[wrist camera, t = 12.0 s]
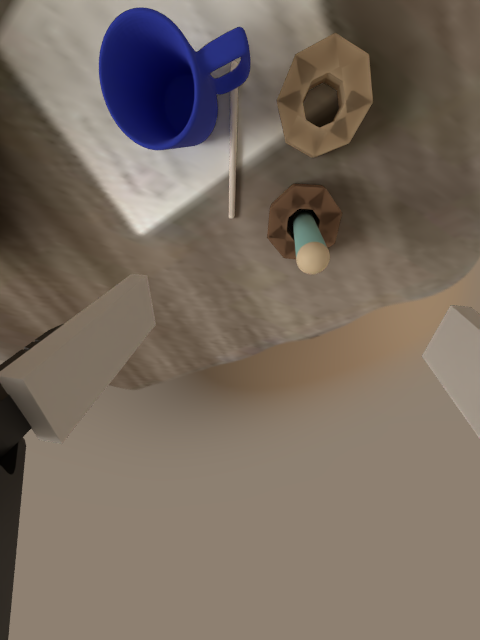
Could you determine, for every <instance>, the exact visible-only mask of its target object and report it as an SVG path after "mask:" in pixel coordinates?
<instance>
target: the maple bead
mask: <svg viewBox="0 0 480 640" xmlns="http://www.w3.org/2000/svg"><path fill="white" fill-rule="evenodd" d="M322 83H325V84H327V85H328V86H330V87H332V88H333V89H335V90H337V97H338V104H339V110H338V112H337V113H336V115H335V117H334V119H333V121H332V122H331V123H329V124H327V125H325V126H322V127H320V128H319V127H317V126H315V125H314V124H312V123H310V122H309V121H307V120H306V118H305V112H304V107H303V102H304V100H305V97H306V95H307V93H308V91H309V90H310V89H312V88H314V87H316V86H318V85H320V84H322ZM372 103H373V98H372V85H371V73H370V61H369V54H368V53H366V52H364V51H363V50H361V49H360V48H358V47H357V46H355V45H354V44H352V43H350V42H349V41H347V40H346V39H344V38H343V37H341V36H339V35H338V34H336V33H334V34H332V35H330V36H328V37H327V38H325V39H323V40H321V41H319V42H317V43H316V44H314V45H312V46H310V47H308V48H307V49H305V50H303V51H301V52H299V53H297V54H295V57H294V59H293V62H292V64H291V67H290V69H289V72H288V74H287V77H286V79H285V81H284V84H283V86H282V89H281V91H280V94H279V96H278V99H277V105H278V110H279V114H280V118H281V123H282V127H283V132H284V136H285V141H286V143H287V144H289V145H290V146H292V147H294V148H296V149H297V150H299V151H301V152H303V153H304V154H306V155H308V156H310V157H311V158H313V157H316V156H319V155H321V154H324V153H326V152H329V151H331V150H333V149H336V148H338V147H341V146H343V145H346V144H348V143H349V142H350V141H351V139H352V137H353V135H354V134H355V132H356V130H357V129H358V127H359V125H360V123H361V122H362V120H363V118H364V117H365V115H366V113H367V111H368V110H369V108H370V106H371V105H372Z"/></svg>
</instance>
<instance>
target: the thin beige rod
mask: <svg viewBox="0 0 480 640" xmlns="http://www.w3.org/2000/svg"><path fill="white" fill-rule="evenodd" d="M237 66H238V63H237V62H236V61H233V62H232V63H231V71H232V70H234V69H235V68H236V67H237ZM237 112H238V87H237V88H235V89H234V90H232V91H230V156H229V218H231V219H233V218H234V217H235V189H236V151H237Z"/></svg>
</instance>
